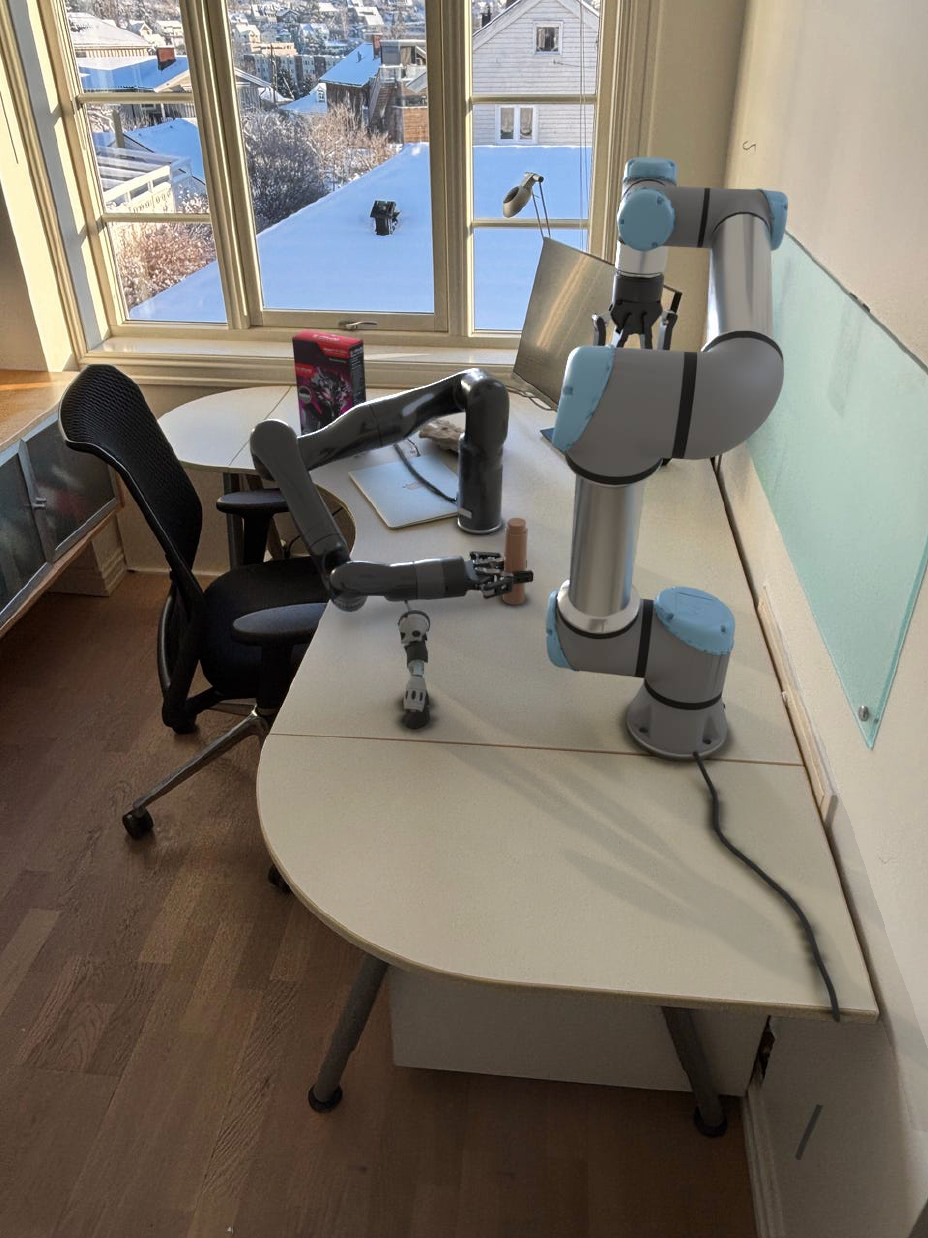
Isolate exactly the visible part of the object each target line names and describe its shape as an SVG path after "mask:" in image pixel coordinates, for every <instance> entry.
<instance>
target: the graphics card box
mask: <svg viewBox="0 0 928 1238" xmlns="http://www.w3.org/2000/svg"><path fill="white" fill-rule="evenodd" d="M291 343H292V352H293V361H294V372H295V373H294V374H295V383H296V392H297V405H298V415H299V424H300V436H304V435H307V434H311V433H314V432H317V431H319V430H321V429H323V428H324V427H326V426H328V425H329V424H331V423H332V422H333V421H335V420H336V419H337V418H338V417H340V416H341V415H343V414H344V413H345V412H347V411H348V410H350V409H351V408H353V407H355V406H357V405H359V404H362V403H365V402H367V389H366V370H365V349H364V348H365V347H364V340H363V338H355V337H350V336H344V335H338V334H334V333H327V332H322V331H318V330H317V331H316V330H311V329H304V330H301V331H299V332H297V333H295V335H293V336H292V337H291Z"/></svg>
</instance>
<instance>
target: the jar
mask: <svg viewBox="0 0 928 1238" xmlns="http://www.w3.org/2000/svg"><path fill="white" fill-rule="evenodd" d="M506 525H507V527H506V528H505V530H504V555H503V557H504V571H503V572H512V573H513V572H516V571H526V570H527V568H526V560H527V557H528V536H529V535H528V534H529V529H528V528H527V521H526V520H525V519H524V518H521V517H512V518H510V519H508V521H507V522H506ZM503 579H505V578H503ZM502 588H506V587H502ZM525 592H526V583H520V584H514V585H513V587H512V592H510V593H506V594H503V595H502V600H503V602H504V603H505V604H508V605H511V606H517V605H521V604H522V603H524V602H525V594H526V593H525Z"/></svg>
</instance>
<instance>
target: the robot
mask: <svg viewBox="0 0 928 1238" xmlns="http://www.w3.org/2000/svg"><path fill="white" fill-rule="evenodd" d="M403 602H404V604H405V607H406V610H407V611H406V612H404V613H403V614H402V615H400V616H399V617H398V621H397V623H396V624H397V625H396V626H397V627H398V629H397V630H398V631H399V635H400V644H401V645H403V649H404V652H405V654H406V669H408V671H409V674H410V677H409V678H408V679H407V680H408V681H407V682H406V685H405V689H404V696H403V697H402V700H401V705H402V706H403V708H404V713H403V716H402V718H401V723H402V725H404V726H405V727H406V728H410V729H419V728H421V727H424V726H426V725H428V724H429V722H430V719H431V717H430V716H431V715H430V709H429V706H430V695H429V692H428V689H427V683H426V678H425V677H424V674H425V664H427V663H429V650H428V648H427V641H429V640H428V639H429V638H428V634H427V633H428V632H430V629H431V620H430V617H429V615H428V614H427V613H426V612H424V611H422V610H419V609H413V608H412V606H411V604H410V602H409V601H407V599H405V600H404V601H403Z"/></svg>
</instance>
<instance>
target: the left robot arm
mask: <svg viewBox="0 0 928 1238" xmlns="http://www.w3.org/2000/svg"><path fill="white" fill-rule="evenodd" d="M510 403H511V402H510V393H509V390H508V388H507V386H506V385H505V384H504V383H503V382H502V380H500V379H499V378H498V377H496V376H495V374H493V373H492V372H491V371H489V370H487V369H484V368H480V367H474V368H468V369H465V370H463V371H460V372H458V373H456V374H453V375H451V376H449V377H446V378H444V379H441V380H439V381H436V382H433V383H431V384H428V385H424V386H421V387H417V388H412V389H410V390H409V389H408V390H405V391H402V392H398V393H395V394H390V395H387V396H382V397H379V398H375V399H372V400H368V401H366V402H365V403H362V404H359V405H357V406H355V407H353V408H351V409H350V410H348V411H347V412H345V413H344V414H343V415H341V416H340V417H338V418H337V419H336V420H335V421H333V422H332V423H331V424H329V425H328V426H326V427H324V428H323V429H321V430H319V431H317V432H314V433H311V434H307V435H304V436H301V435H300V436H298V435H297V434H296V432H295V430H294V428H293V427H291V425H290V424H288V423H287V422H285V421H283V420H280V419H275V418H274V419H273V418H271V419H265V420H262V421H260V422H259V423H257V424H256V425H255V426H254V428H252V430H251V432H250V435H249V441H248V442H249V443H248V446H249V447H248V448H249V452H250V456H251V460H252V463H253V467H254V470H255V472H256V474H257V475H258V476H259V477H260V478H261V479H263V480H265V481H267V482H273V483H276V485H277V487H278V489H279V491H280V492H281V495H282V497H283V498H284V502H285V504H286V507H287V510H288V511H289V515H290V516H291V519H292V521H293V524H294V526H295V529H296V531H297V534H298V535H299V537H300V540H301V542H302V544H303V545H304V547H305V549H306V551H307V553H308V554H309V556H310V558H311V560H312V561H313V563H314V565H315V567H316V569H317V572H318V575H319V577H320V579H321V582H322V584H323V587H324V590H325V592H326V594H327V596H328V598H329V600H330V602H331V603H332V604H333V606H335V607H336V608H337V609H338V610H340V611H342V612H345V613H353V612H354V613H355V612H357V611H359V610H361V608H363V607H364V606H365V604H366V602H367V601H368V597H384V600H386V601H388V602H392V603H399V602H404V600H405V599H407V601H408V602H409V601H420V600H421V601H432V600H441V599H443V600H444V599H452V598H453V599H454V598H462V597H465V596H466V595H467V594H468V592H469V591H475V592H476V591H477V592H478V591H479V592H480V593H482V598H483V600H489V599H494V598H496V597H499V596H503V594H506V593H510V592H512V587H513V585H514V584H520V583H525V584H529V583H532V582H533V581H534V575H535V574H534V571H533V570H532V569H529V570H528V569H527V567H528V560H527V559H526V571H516V572H513V573H512V572H504V556H502V553H500V552H493V551H477V550H471V551H469V555H468V556H469V558H468V559H467V560H465V559H464V557H463V556H462V555H455V556H454V555H453V556H443V557H431V558H424V559H419V560H414V561H404V562H403V561H402V562H393V563H384V562H378V561H367V560H352V558H351V556H350V551H349V546H348V543H347V540H346V539H345V537H344V535H343V533H342V531H341V529H340V527H339V525H338V524H337V522H336V521H335V519H334V517H333V515H332V513H331V511H330V510H329V508H328V506H327V504H326V502H325V501H324V499H323V497H322V495H321V493H320V492H319V490H318V488H317V486H316V484H315V482H314V480H313V478H312V476H311V474H310V472H311V471H314V470H316V469H319V468H322V467H324V466H326V465H329V464H332V463H334V462H338V461H343V460H345V459H349V458H352V457H355V456H358V455H361V454H365V453H368V452H371V451H375V450H376V451H377V450H380V449H383V448H386V447H387V448H388V447H390V446H393V445H394V447H395V449H396V450H397V451H398V453H399V455H400V457H401V458H402V460H403V462H404V463H405V464H406V466H407V467H408V469H409V470H410V471H411V472H412V473H413V474H414V475H415V476H416V477H417V478H418V479H419V480H420V481H421V482H422V483H424V484H425V485H426V486H428V487H429V488H430V489H432V490H433V491H434V492H436V493H437V494H438V495H439V496H440V497H442V498H443V499H445V500H447V501H449V502H454V503H456V507H457V512H458V513H457V526H458V527H459V529H461V530H462V531H464V532H467V533H468V534H474V535H486V534H490V533H494V532H496V531H498V530H499V529H500V528H501V527H502V507H503V504H502V503H503V475H504V447H505V446H504V445H505V443H506V440H507V438H508V433H509V420H510ZM463 413H465V417H464V418H465V419H464V421H465V422H464V430H465V432H464V433H463V434H462V435H461V436H460V438H459V453H458V491H456V497H455V498H456V500H455V498H454V497H450V496H449V495H446V494H445V493H444V492H442V491H441V490H440V489H438V487H437V486H435V485H434V484H433V483H431V482H429V481H428V480H427V479H425V477H423V476H422V475H421V474H420V473H419V472H417V470H416V468H414V467H413V466H412V464H411V463H410V461H409V460H408V459H407V458H406V456H405V454H404V452H403V450H402V449H401V447H400V446H399V445H398V444H399V443H402V442H404V441H406V440H408V439H409V438H412V437H413V436H415V434H417V433H419V432H420V430H421V429H422V428H423V427H424V426H426V425H427V424H429V423H430V422H432V421H434V420H436V419H439V420H440V419H442V418H445V417H449V416H453V415H457V414H463ZM495 577H496V578H495ZM504 578H505V579H504ZM495 579H496V580H495ZM503 587H506V588H503Z"/></svg>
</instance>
